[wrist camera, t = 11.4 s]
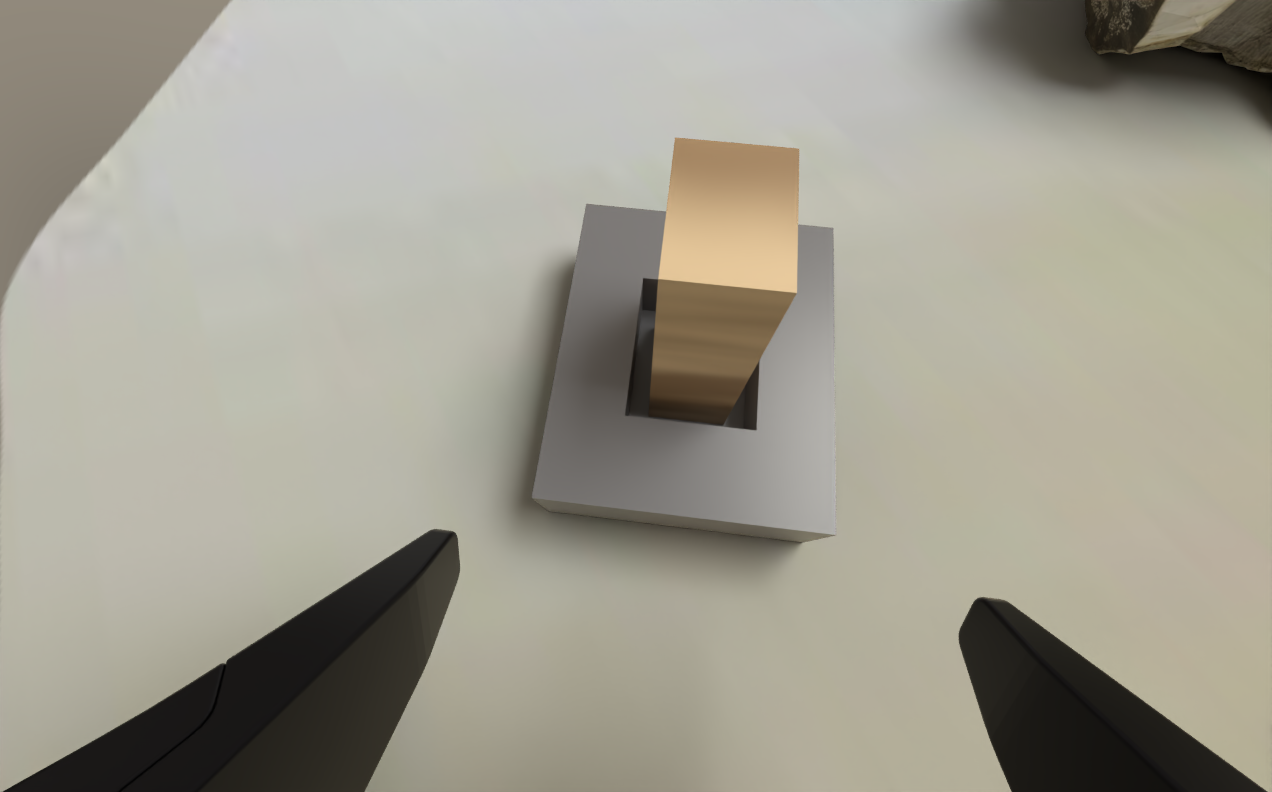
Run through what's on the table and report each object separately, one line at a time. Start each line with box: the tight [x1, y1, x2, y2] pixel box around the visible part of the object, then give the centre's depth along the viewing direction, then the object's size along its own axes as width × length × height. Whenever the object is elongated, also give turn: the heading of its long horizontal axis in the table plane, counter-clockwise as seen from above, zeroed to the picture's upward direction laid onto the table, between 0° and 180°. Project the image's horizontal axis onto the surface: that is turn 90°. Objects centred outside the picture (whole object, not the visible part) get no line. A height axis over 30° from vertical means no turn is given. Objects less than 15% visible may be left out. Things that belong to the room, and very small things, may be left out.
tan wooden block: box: [648, 138, 799, 425], centre depth 17 cm, size 4×3×10 cm
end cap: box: [532, 204, 836, 542], centre depth 21 cm, size 12×10×4 cm
